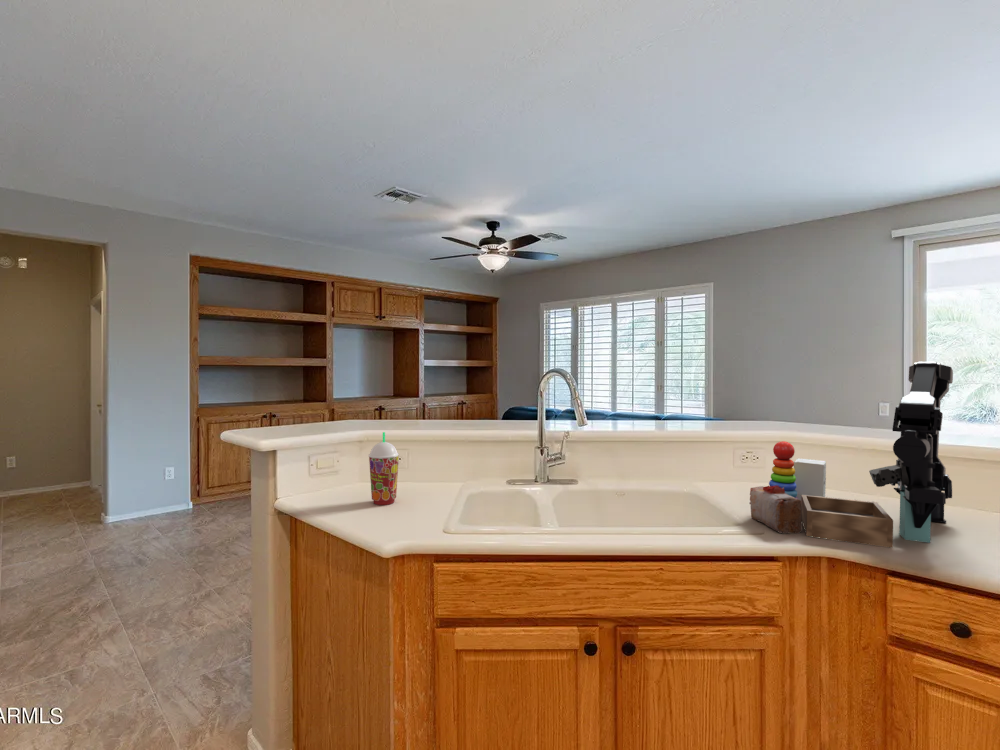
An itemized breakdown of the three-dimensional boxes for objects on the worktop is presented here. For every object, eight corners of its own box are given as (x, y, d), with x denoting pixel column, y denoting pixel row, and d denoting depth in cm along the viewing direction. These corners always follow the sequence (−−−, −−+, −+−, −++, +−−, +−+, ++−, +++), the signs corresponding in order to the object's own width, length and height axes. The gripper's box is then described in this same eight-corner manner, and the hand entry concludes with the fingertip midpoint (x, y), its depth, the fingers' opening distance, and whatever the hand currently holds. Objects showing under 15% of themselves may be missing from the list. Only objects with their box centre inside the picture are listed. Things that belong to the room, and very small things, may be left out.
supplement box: (823, 511, 139) (824, 464, 138) (792, 506, 143) (792, 461, 143) (826, 505, 145) (826, 460, 144) (795, 500, 149) (796, 457, 149)
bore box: (876, 526, 126) (877, 502, 125) (892, 547, 111) (893, 520, 111) (801, 517, 133) (801, 494, 133) (806, 536, 118) (807, 510, 118)
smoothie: (362, 504, 143) (362, 433, 143) (380, 497, 151) (380, 429, 151) (387, 508, 140) (387, 435, 140) (404, 500, 148) (404, 431, 148)
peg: (924, 536, 119) (925, 493, 118) (930, 542, 114) (931, 498, 114) (899, 533, 121) (900, 491, 120) (904, 539, 117) (905, 495, 116)
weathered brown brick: (744, 517, 133) (745, 479, 133) (774, 516, 134) (775, 479, 134) (775, 534, 120) (776, 492, 120) (808, 534, 120) (809, 492, 120)
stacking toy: (759, 507, 142) (760, 440, 141) (779, 504, 145) (780, 438, 145) (785, 515, 135) (786, 444, 134) (805, 512, 138) (807, 442, 137)
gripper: (865, 448, 129) (864, 509, 129) (882, 460, 112) (880, 531, 113) (921, 451, 124) (919, 515, 125) (947, 465, 107) (945, 539, 108)
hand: (914, 524), depth 118 cm, fingers closed on peg, 5 cm apart
